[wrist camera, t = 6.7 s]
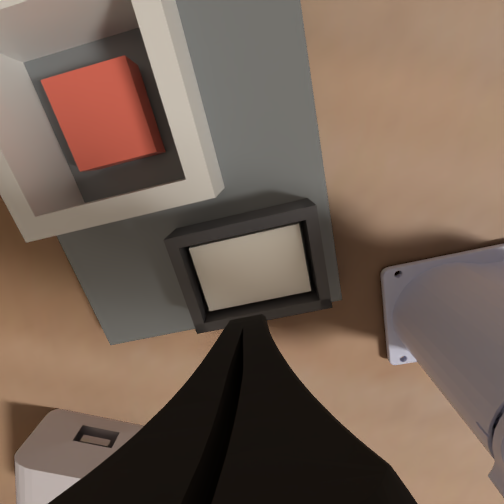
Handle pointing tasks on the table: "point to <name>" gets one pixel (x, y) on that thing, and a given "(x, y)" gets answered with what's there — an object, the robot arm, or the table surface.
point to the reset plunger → (105, 114)
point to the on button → (252, 266)
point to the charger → (65, 452)
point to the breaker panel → (168, 152)
